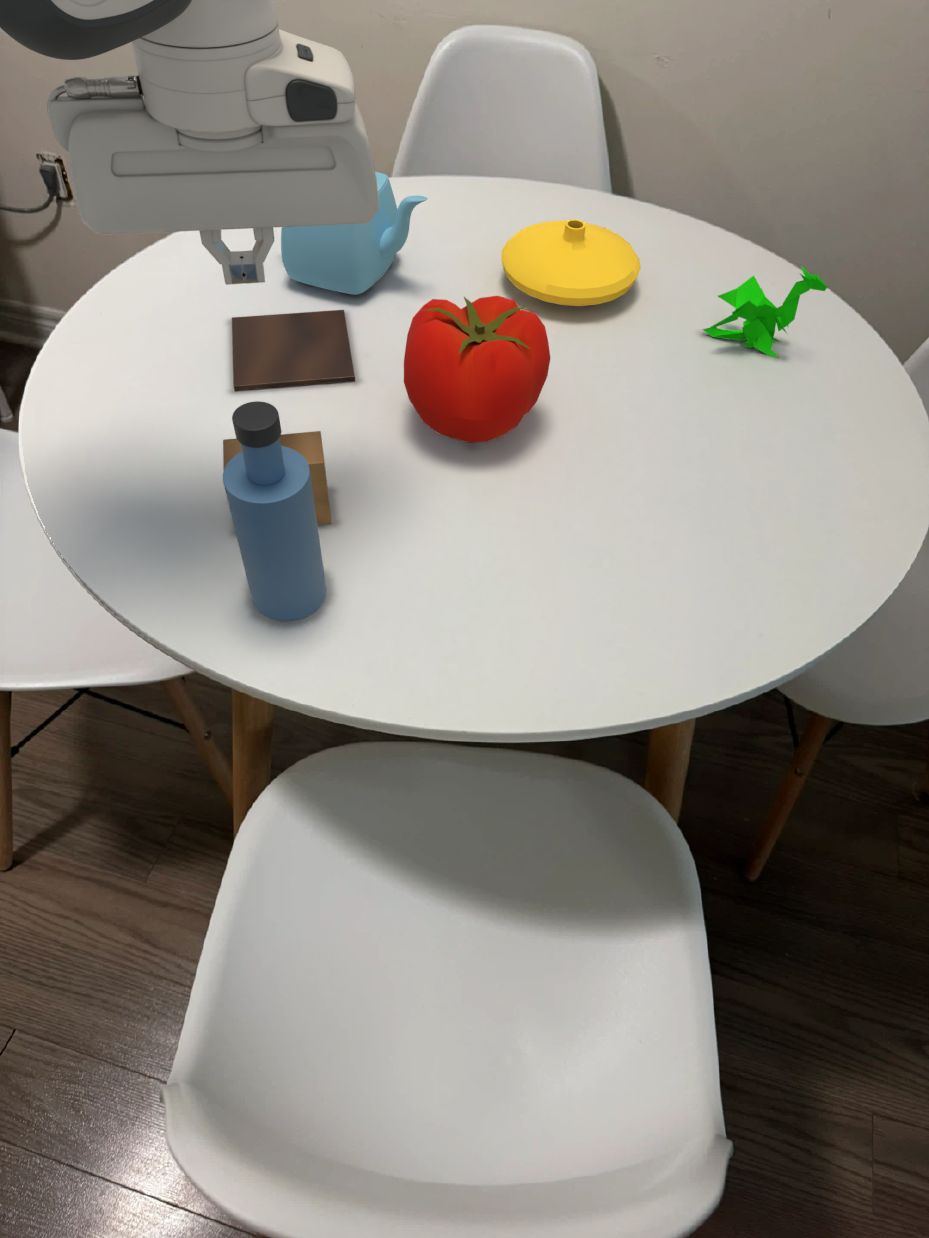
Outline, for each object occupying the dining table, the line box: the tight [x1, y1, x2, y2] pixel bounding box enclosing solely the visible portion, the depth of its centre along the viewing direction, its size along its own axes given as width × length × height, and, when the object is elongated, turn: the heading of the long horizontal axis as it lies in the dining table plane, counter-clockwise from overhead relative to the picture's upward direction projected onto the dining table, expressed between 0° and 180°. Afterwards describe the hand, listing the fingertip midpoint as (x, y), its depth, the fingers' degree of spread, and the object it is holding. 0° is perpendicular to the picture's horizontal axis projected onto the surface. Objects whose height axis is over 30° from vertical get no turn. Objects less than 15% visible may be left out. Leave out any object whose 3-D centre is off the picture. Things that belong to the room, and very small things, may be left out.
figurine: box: [702, 264, 829, 358], centre depth 92 cm, size 6×12×9 cm, turn 73°
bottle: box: [222, 400, 327, 622], centre depth 65 cm, size 6×13×18 cm, turn 10°
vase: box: [500, 218, 641, 307], centre depth 99 cm, size 16×16×7 cm
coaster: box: [231, 309, 356, 392], centre depth 91 cm, size 12×12×1 cm
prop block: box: [222, 430, 332, 526], centre depth 74 cm, size 8×4×7 cm, turn 100°
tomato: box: [403, 295, 551, 444], centre depth 81 cm, size 13×14×12 cm
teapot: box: [280, 171, 428, 296], centre depth 97 cm, size 12×18×12 cm
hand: (245, 279), depth 66 cm, fingers closed
